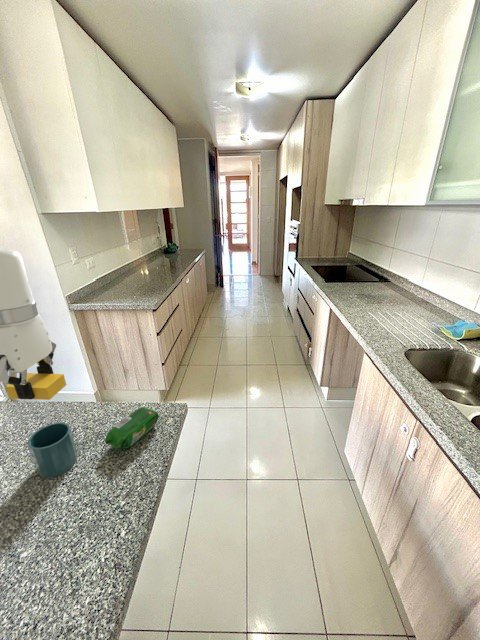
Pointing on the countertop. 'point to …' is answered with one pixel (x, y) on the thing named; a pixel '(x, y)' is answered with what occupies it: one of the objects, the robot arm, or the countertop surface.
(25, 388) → the robot arm
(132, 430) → the snack package
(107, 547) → the countertop surface
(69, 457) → the cup
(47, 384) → the yellow flat block
